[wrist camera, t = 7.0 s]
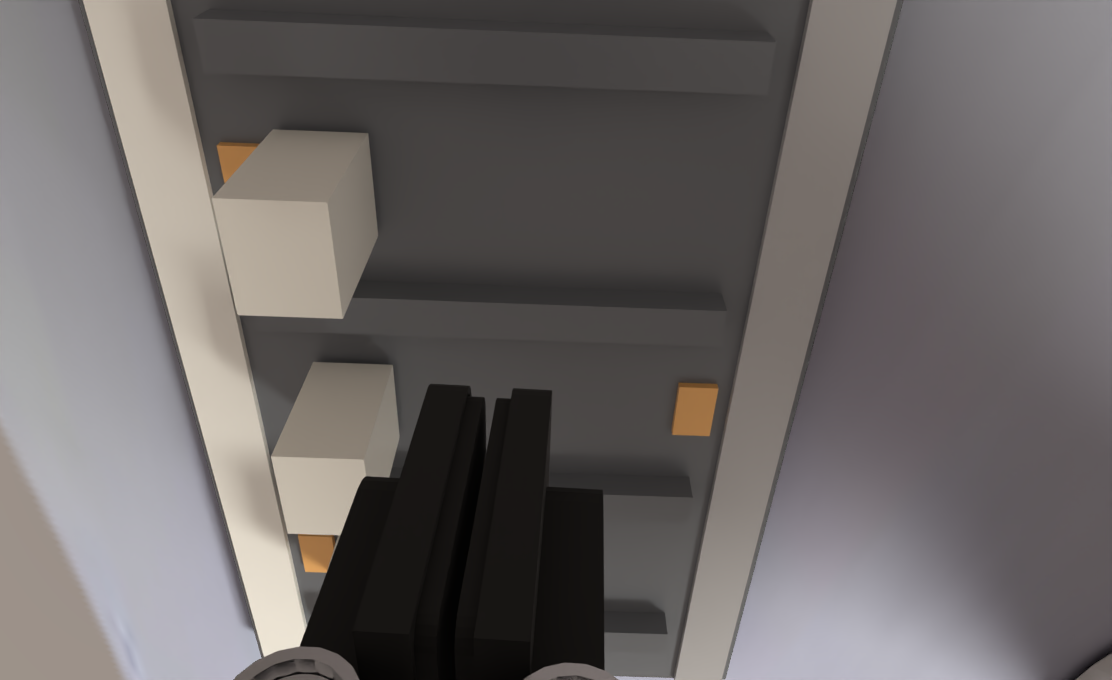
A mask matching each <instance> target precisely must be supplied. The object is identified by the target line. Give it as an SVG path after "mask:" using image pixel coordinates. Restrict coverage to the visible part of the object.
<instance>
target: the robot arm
mask: <svg viewBox="0 0 1112 680" xmlns="http://www.w3.org/2000/svg"><path fill="white" fill-rule="evenodd" d="M551 415H552V390H538V389H519V388H513V390H512V395H511V399H509V398H497V399H496V402H495V408H494V413H493V419H492V424H491V430H490V435H489V441H488V446H487V452H486V403H485V398H484V397H473V396H472V395H471V387H470V386H465V385H447V384H430V385H429V386H428V388H427V391H426V394H425V398H424V401H423V404H422V407H421V411H420V414H419V417H418V420H417V424H416V427H415V430H414V433H413V436H412V440H411V443H410V446H409V449H408V453H407V456H406V459H405V462H404V466H403V469H402V472H401V475H400V478H389V477H372V476H365V477H364V478H363V479H362V481H361V483H360V485H359V487H358V489H357V492H356V494H355V497H354V500H353V503H352V505H351V508H350V511H349V513H348V516H347V519H346V522H345V524H344V527H343V530H342V532H341V535H340V538H339V541H338V543H337V546H336V549H335V551H334V554H333V557H332V560H331V562H330V565H329V568H328V570H327V573H326V576H325V579H324V581H323V584H322V587H321V589H320V592H319V595H318V598H317V600H316V603H315V606H314V608H313V611H312V614H311V617H310V619H309V622H308V625H307V627H306V630H305V633H304V636H303V638H302V641H301V644H300V646H299V647H294V648H289V649H284V650H279V651H276V652H274V653H272V654H270V655H267V656H265V657H263V658H261V659H259V660H257V661H255V662H254V663H252V664H251V665H250V666H249V667H247V668H246V669H245V670H243V671H242V672H241V673H240V674H238V675H237V676H236V677H235V679H234V680H618V679H617V678H615V677H614V676H612V675H611V674H610V673H608V672H607V671H605V659H604V507H603V490H598V489H581V488H563V487H549V465H550V440H551ZM1075 680H1112V653H1111V654H1109V655H1107V656H1106V657H1104V658H1103V659H1101V660H1100V661H1098V662H1096V663H1095V664H1093V665H1092V666H1091V667H1090V668H1088V669H1087V670H1086V671H1085V672H1084V673H1083V674H1081V675H1080V676H1079V677H1078V678H1077V679H1075Z"/></svg>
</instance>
